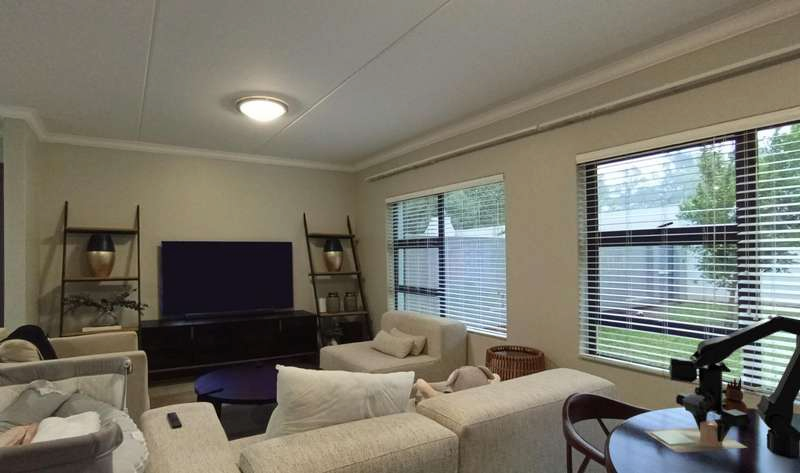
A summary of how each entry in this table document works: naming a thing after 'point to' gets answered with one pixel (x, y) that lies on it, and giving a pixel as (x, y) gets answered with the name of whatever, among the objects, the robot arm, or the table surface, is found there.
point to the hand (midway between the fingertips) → (711, 437)
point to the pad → (672, 438)
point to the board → (697, 441)
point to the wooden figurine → (734, 397)
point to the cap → (709, 432)
